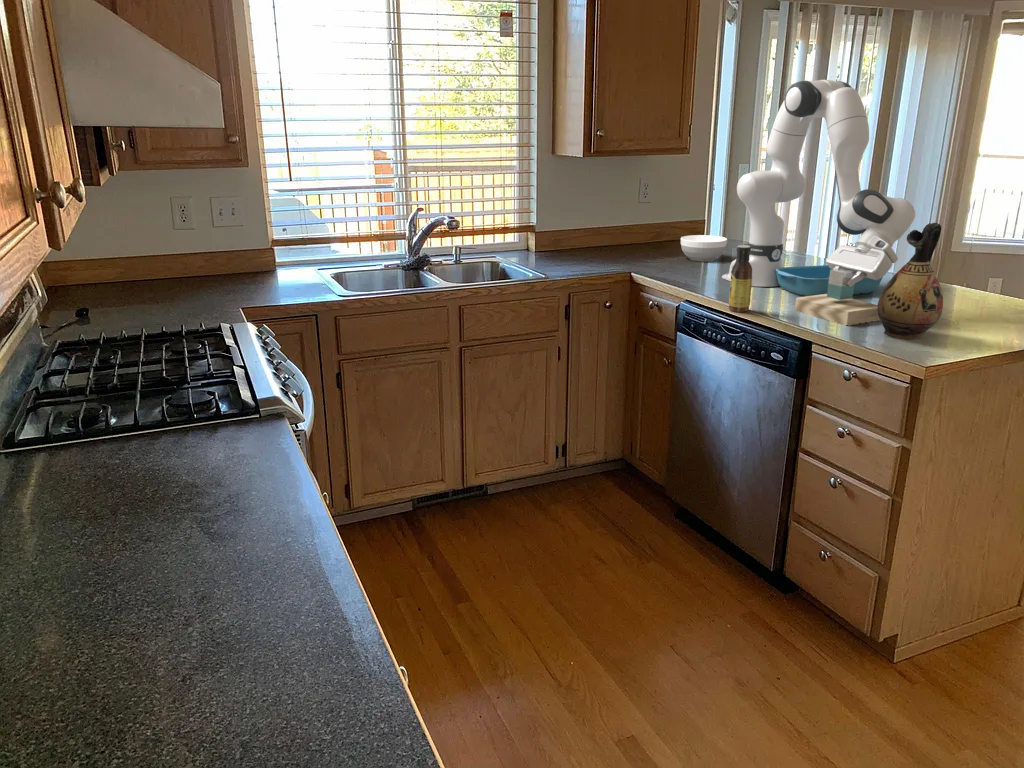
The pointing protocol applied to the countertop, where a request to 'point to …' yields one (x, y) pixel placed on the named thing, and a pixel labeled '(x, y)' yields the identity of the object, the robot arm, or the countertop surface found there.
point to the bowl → (703, 247)
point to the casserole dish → (816, 280)
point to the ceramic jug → (913, 290)
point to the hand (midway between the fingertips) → (839, 282)
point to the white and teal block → (840, 284)
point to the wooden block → (837, 309)
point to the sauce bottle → (741, 281)
